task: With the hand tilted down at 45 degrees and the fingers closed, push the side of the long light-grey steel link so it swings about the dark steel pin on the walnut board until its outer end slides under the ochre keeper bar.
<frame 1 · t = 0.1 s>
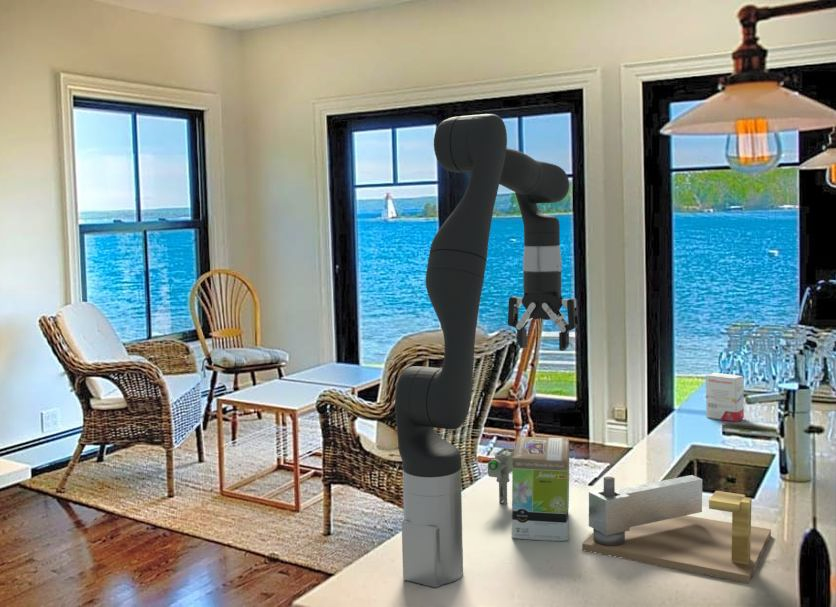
hand: (542, 348, 169), 29 cm above the worktop, tool pointing down, fingers open, 8 cm apart
latch board: (677, 543, 143), on the worktop
mechanical component: (503, 504, 165), on the worktop
link: (648, 503, 145), point 6 cm above the worktop, hinge at 0.0°
tea box: (541, 526, 153), on the worktop
ink box: (724, 419, 226), on the worktop
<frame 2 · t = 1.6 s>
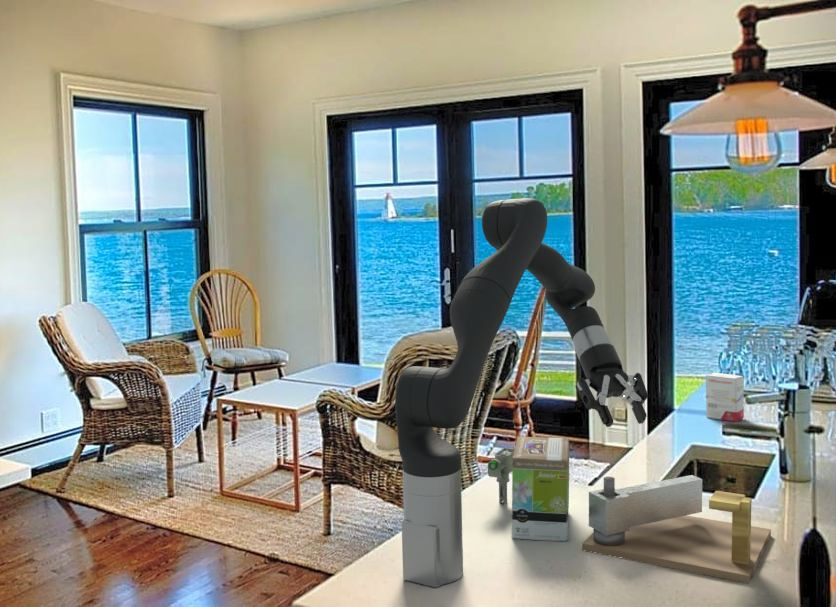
hand: (626, 423, 161), 16 cm above the worktop, tool tilted 45°, fingers open, 6 cm apart
nothing on the worktop moved.
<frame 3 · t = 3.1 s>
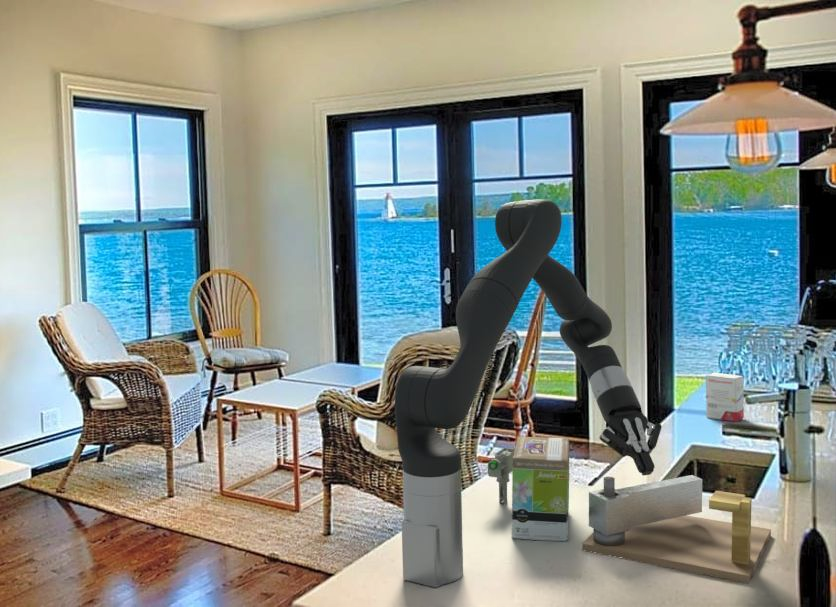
hand: (648, 473, 155), 8 cm above the worktop, tool tilted 45°, fingers closed
nothing on the worktop moved.
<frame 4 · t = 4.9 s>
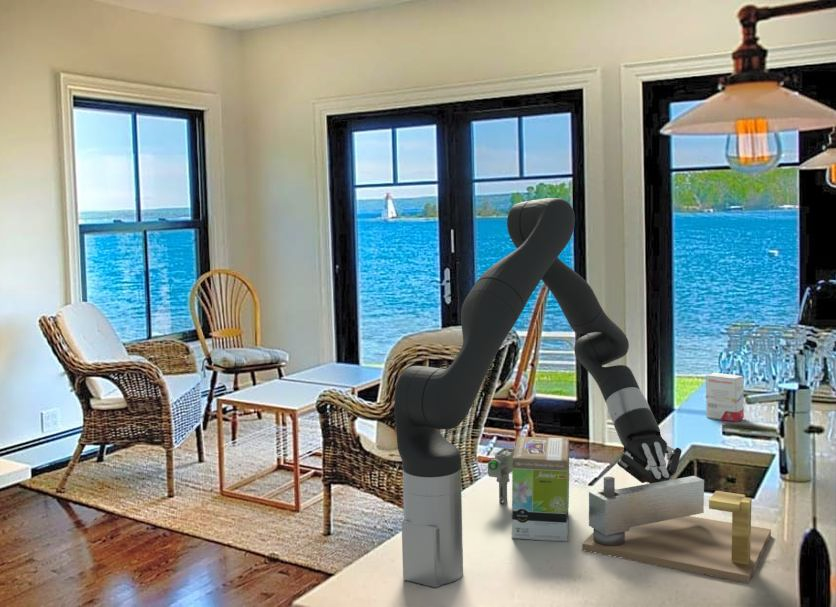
hand: (668, 500, 149), 5 cm above the worktop, tool tilted 45°, fingers closed
link: (649, 503, 145), point 6 cm above the worktop, hinge at -1.4°, touching gripper
everything else where it was.
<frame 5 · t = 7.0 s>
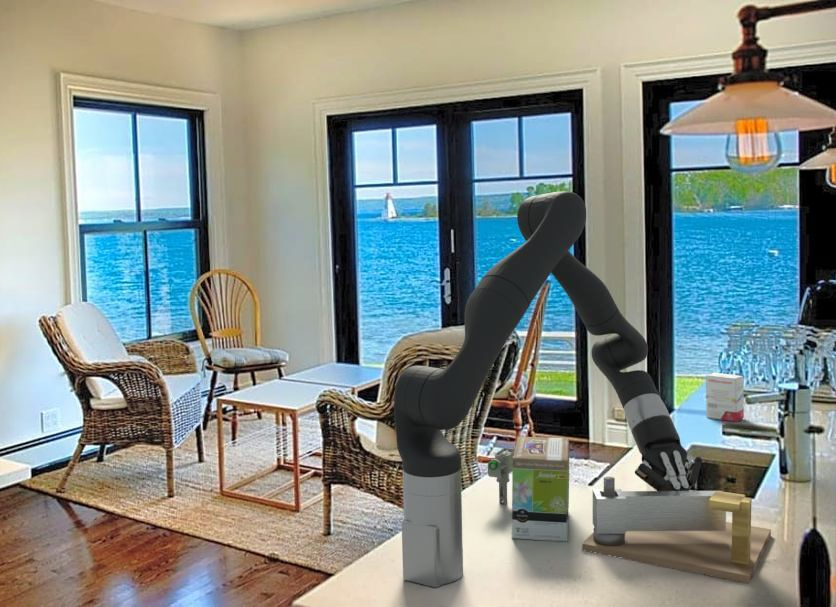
hand: (688, 512, 143), 5 cm above the worktop, tool tilted 45°, fingers closed
link: (658, 510, 141), point 6 cm above the worktop, hinge at -27.0°, touching gripper
everything else where it was.
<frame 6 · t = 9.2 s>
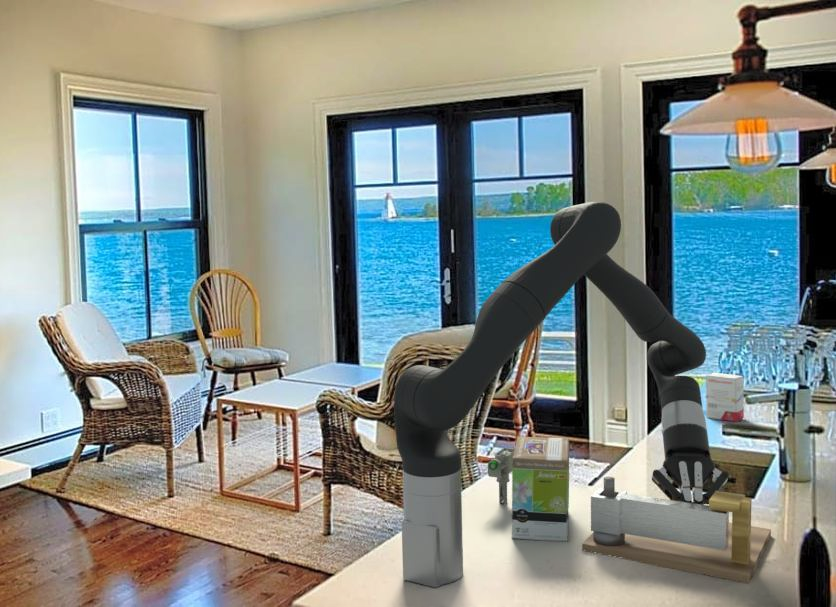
hand: (695, 525, 137), 5 cm above the worktop, tool tilted 45°, fingers closed
link: (658, 518, 138), point 6 cm above the worktop, hinge at -53.0°, touching gripper
everything else where it was.
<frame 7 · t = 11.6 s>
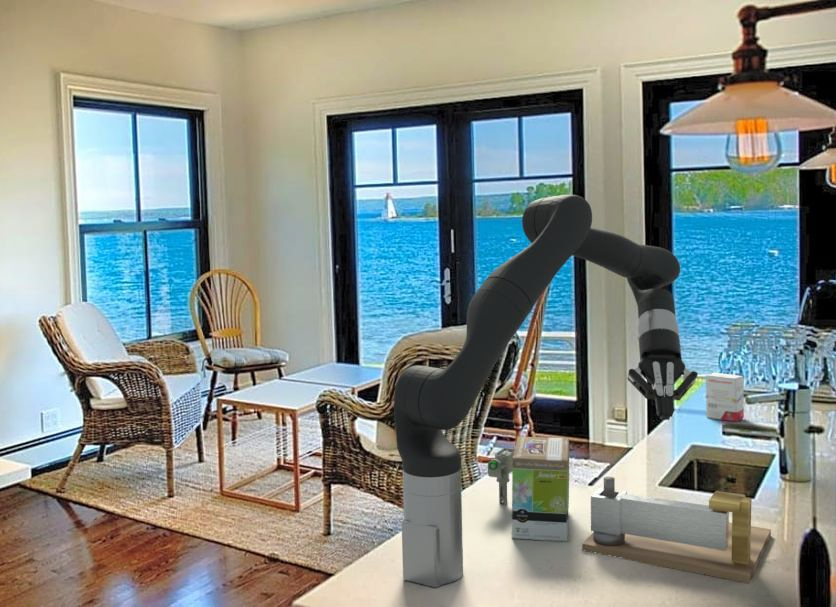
hand: (665, 417, 150), 20 cm above the worktop, tool tilted 45°, fingers closed
link: (658, 518, 138), point 6 cm above the worktop, hinge at -53.1°
everything else where it was.
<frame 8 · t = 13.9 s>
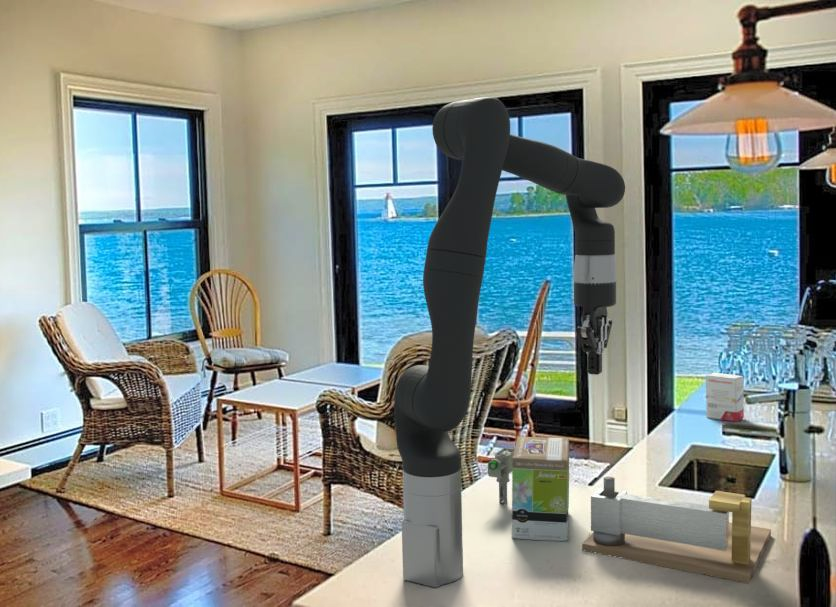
hand: (595, 373, 154), 27 cm above the worktop, tool pointing down, fingers closed
nothing on the worktop moved.
at the end: link at -53° (first picture: +0°) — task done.
